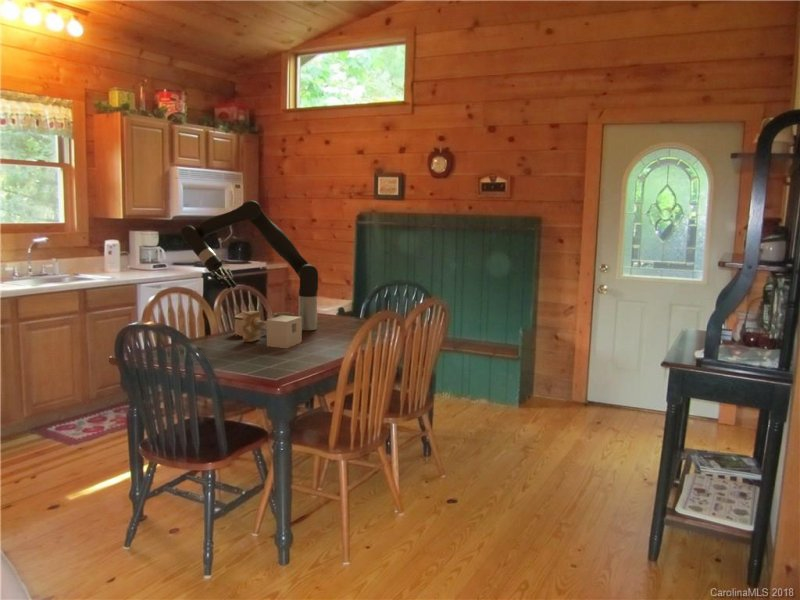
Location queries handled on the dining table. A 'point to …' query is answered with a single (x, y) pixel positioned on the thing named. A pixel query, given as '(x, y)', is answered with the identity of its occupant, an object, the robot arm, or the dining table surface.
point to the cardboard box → (284, 331)
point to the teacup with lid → (239, 323)
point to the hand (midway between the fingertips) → (232, 286)
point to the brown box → (252, 326)
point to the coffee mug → (282, 314)
